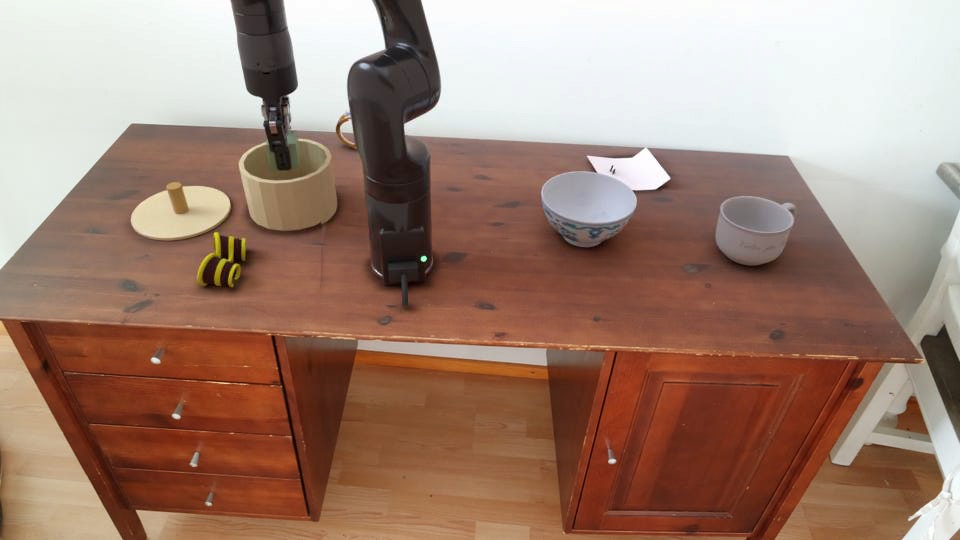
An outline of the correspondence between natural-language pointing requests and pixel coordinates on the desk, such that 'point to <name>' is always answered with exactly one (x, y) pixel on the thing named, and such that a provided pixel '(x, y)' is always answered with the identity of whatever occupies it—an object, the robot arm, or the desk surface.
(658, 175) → the folded paper
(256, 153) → the canister
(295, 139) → the block
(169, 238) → the canister lid
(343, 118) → the ring
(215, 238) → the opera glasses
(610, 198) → the chinaware
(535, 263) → the desk surface
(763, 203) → the teacup
